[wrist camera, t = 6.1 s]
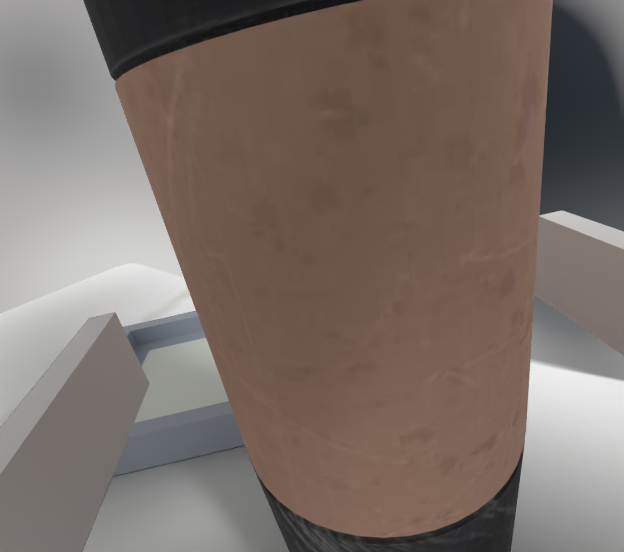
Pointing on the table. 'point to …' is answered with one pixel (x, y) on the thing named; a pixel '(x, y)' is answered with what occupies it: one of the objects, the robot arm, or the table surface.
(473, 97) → the travel mug
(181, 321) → the dock
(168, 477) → the table surface
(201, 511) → the table surface
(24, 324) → the table surface
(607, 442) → the table surface
